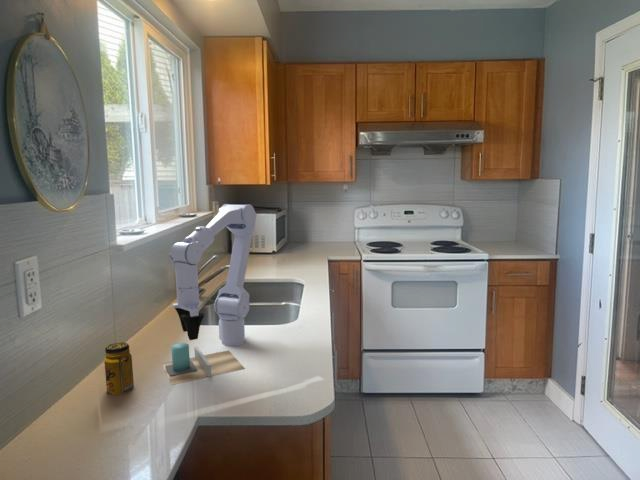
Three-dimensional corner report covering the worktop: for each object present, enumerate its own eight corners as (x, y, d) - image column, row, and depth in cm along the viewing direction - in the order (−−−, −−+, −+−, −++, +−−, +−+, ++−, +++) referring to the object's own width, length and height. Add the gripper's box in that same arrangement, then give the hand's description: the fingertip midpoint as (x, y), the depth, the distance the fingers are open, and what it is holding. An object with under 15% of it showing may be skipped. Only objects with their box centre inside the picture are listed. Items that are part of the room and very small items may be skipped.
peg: (171, 366, 120) (170, 345, 119) (188, 362, 122) (187, 342, 121) (174, 372, 116) (172, 350, 115) (191, 369, 118) (190, 347, 117)
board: (161, 366, 123) (161, 363, 123) (228, 353, 132) (228, 350, 132) (171, 388, 110) (171, 384, 110) (245, 372, 119) (245, 368, 119)
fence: (194, 356, 127) (194, 346, 127) (197, 356, 127) (197, 346, 127) (208, 376, 114) (207, 365, 114) (211, 376, 114) (210, 364, 114)
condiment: (98, 396, 107) (94, 348, 105) (127, 381, 114) (123, 336, 113) (120, 402, 104) (117, 352, 102) (148, 386, 111) (145, 340, 110)
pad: (165, 366, 120) (165, 365, 120) (191, 361, 124) (191, 360, 124) (170, 376, 114) (169, 375, 114) (197, 370, 118) (197, 369, 118)
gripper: (167, 283, 124) (170, 329, 126) (177, 294, 111) (180, 346, 113) (192, 279, 127) (195, 325, 129) (205, 290, 114) (208, 341, 116)
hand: (190, 334), depth 121 cm, fingers open, 7 cm apart
